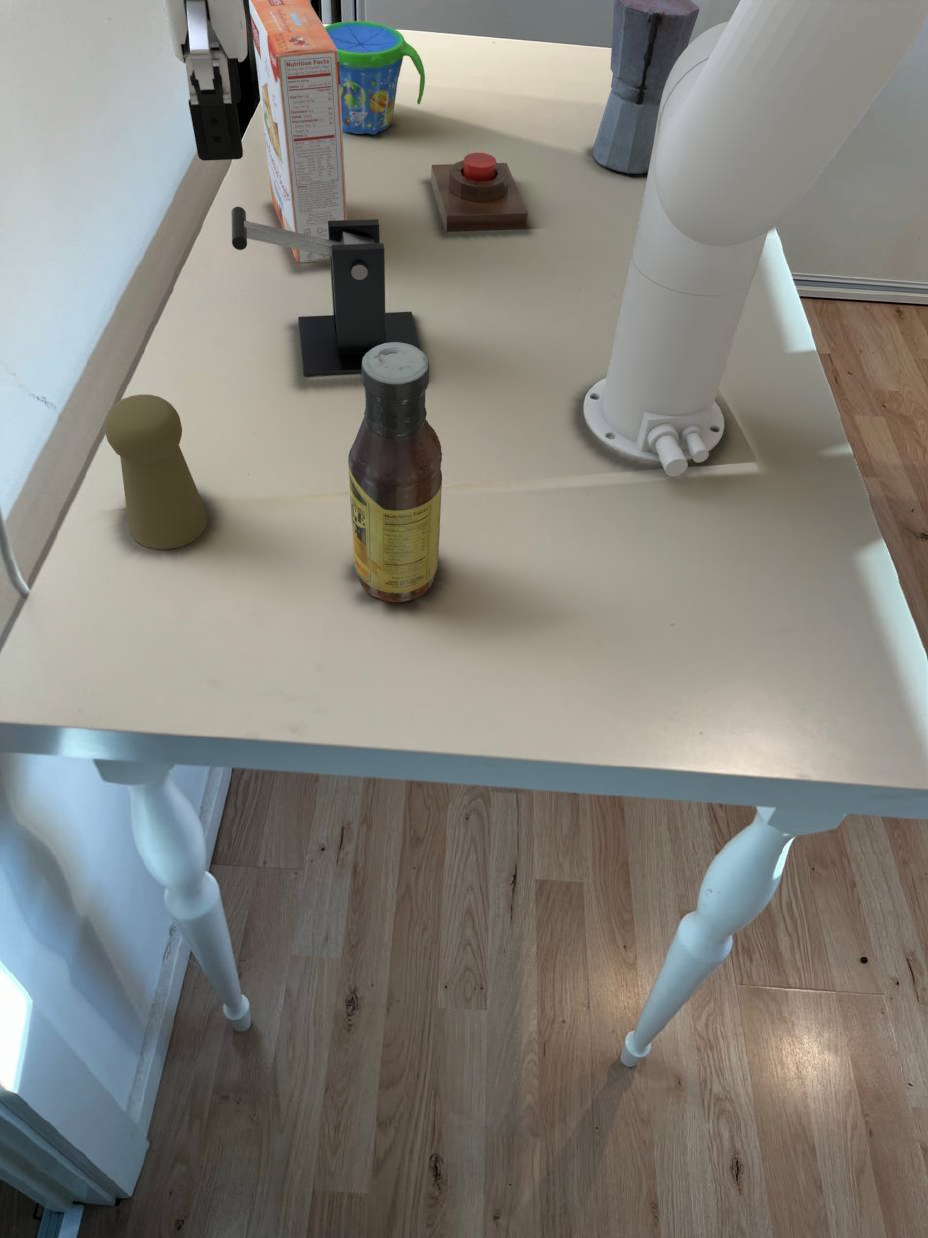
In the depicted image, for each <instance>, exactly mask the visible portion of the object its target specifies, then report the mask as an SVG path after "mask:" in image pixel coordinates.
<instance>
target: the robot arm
mask: <svg viewBox="0 0 928 1238" xmlns="http://www.w3.org/2000/svg"><path fill="white" fill-rule="evenodd" d="M162 4H163V9H164V13H165V18H166V19H165V20H166V23H167V27H168V32H169V36H170V40H171V43H172V44H171V45H172V48H173V52H174V56H175V58H176V59H178V61H180V62H181V63H183V64H185V69H186V77H187V86H188V94H189V99H188V109H189V113H190V114H189V115H190V119H191V123H192V129H193V136H194V141H195V146H196V153H197V156H198V158H199V159H200V160H201V161H205V162H206V161H208V162H209V161H227V160H228V161H229V160H231V161H232V160H241V159H242V158H243V156H244V149H243V142H242V141H243V140H242V135H241V128H240V122H239V121H240V120H239V114H238V107H237V104H239V103H241V101H242V93H241V84H240V79H239V78H240V77H239V73H238V72H239V70H238V63H243V62H244V61H245V59H246V58H247V56H248V35H247V34H248V33H247V19H246V13H245V5H244V0H162ZM927 19H928V0H739V2H738V4H737V6H736V8H735V10H734V11H733V13H732V15H731V17H730V19H729V20H728V21H725V22H724V21H723V22H721V23H719V24H716V25H714V26H712V27H710V28H708V29H707V30H705V31H703V32H702V33H701V34H699V35H698V36H696V38H695V39H694V40H692V41H691V42H689V44H688V46H687V48H686V49H685V50H684V51H683V53H682V54H681V55H680V57H679V58H678V60H677V61H676V63H675V64H674V66H673V68H672V70H671V72H670V74H669V76H668V79H667V81H666V84H665V87H664V90H663V94H662V98H661V102H660V107H659V113H658V119H657V125H656V131H655V138H654V144H653V149H652V154H651V160H650V165H649V171H648V172H647V178H646V181H645V188H644V193H643V198H642V204H641V209H640V213H639V218H638V224H637V227H636V233H635V238H634V243H633V248H632V251H631V256H630V261H629V265H628V271H627V275H626V278H625V279H626V281H625V285H624V290H623V295H622V299H621V303H620V304H621V305H620V310H619V315H618V319H617V324H616V330H615V333H614V334H615V335H614V339H613V344H612V349H611V353H610V358H609V363H608V369H607V373H606V377H603V379H600V380H599V381H598V382H596V383H594V384H593V386H591V388H590V389H589V390H588V391H587V392H586V394H585V397H584V400H583V405H582V411H583V417H584V420H585V422H586V424H587V426H588V427H589V429H590V430H591V432H592V433H593V434H594V435H595V436H596V437H597V438H598V439H599V440H600V441H601V442H603V443H604V444H606V445H607V446H609V448H611V449H613V450H616V451H618V452H619V453H621V454H624V455H626V456H629V457H632V458H635V459H639V460H643V461H649V462H656V463H658V462H659V463H661V466H662V469H663V470H664V472H665V475H666V476H668V477H675V478H676V477H678V476H681V475H682V474H684V473H685V472H687V471H686V470H687V469H688V466H689V465H688V463H689V462H688V461H690V460H692V461H693V462H694V463H698V464H699V463H703V462H704V461H706V460H707V459H708V458H709V456H710V451H712V450H713V449H714V448H716V446H717V445H718V444H719V442H720V441H721V439H722V437H723V434H724V430H725V417H724V414H723V412H722V409H721V408H720V406H719V405H718V403H717V402H716V397H717V395H718V392H719V391H718V390H719V387H720V384H721V381H722V377H723V374H724V373H725V369H726V367H727V366H726V365H727V362H728V359H729V356H730V353H731V349H732V347H733V343H734V340H735V338H736V334H737V331H738V327H739V324H740V321H741V318H742V315H743V312H744V309H745V305H746V302H747V299H748V296H749V293H750V290H751V286H752V283H753V281H754V278H755V276H756V273H757V270H758V266H759V263H760V260H761V258H762V257H761V256H762V253H763V250H764V247H765V243H766V240H767V237H768V233H769V231H771V230H773V229H774V228H775V227H776V226H778V225H780V224H781V222H783V221H784V220H785V219H786V218H787V217H788V216H789V215H790V214H791V213H792V212H793V211H794V210H796V208H797V207H798V206H799V204H800V203H801V202H802V201H803V199H804V198H805V197H806V196H807V195H808V194H809V192H810V191H811V190H812V188H813V187H814V186H815V184H816V183H817V181H818V180H819V178H820V177H821V176H822V174H823V173H824V172H825V170H826V169H827V168H828V166H829V165H830V164H831V162H832V161H833V160H834V158H835V157H836V156H837V154H838V153H839V152H840V150H841V148H842V147H843V146H844V144H845V143H846V141H847V140H848V139H849V137H850V136H851V135H852V133H853V131H854V130H855V129H856V127H858V124H859V123H860V122H861V120H862V119H863V118H864V116H865V115H866V114H867V112H868V111H869V109H870V108H871V107H872V105H873V104H874V102H875V101H876V99H877V98H878V97H879V95H880V94H881V93H882V91H883V89H884V88H885V87H886V85H887V84H888V83H889V81H890V80H891V78H892V77H893V75H894V74H895V72H896V71H897V70H898V69H899V67H900V65H901V64H902V63H903V61H904V59H905V58H906V57H907V55H908V53H909V52H910V50H911V49H912V47H913V45H914V44H915V42H916V40H917V38H918V36H919V34H920V33H921V32H922V29H923V27H924V26H925V23H926V21H927ZM237 61H238V63H237ZM592 397H595V398H597V399H594V398H592ZM712 429H713V430H717V431H713V430H712ZM608 436H609V437H610V436H611V437H613V438H608Z"/></svg>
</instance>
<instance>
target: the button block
mask: <svg viewBox="0 0 928 1238" xmlns="http://www.w3.org/2000/svg"><path fill="white" fill-rule="evenodd" d="M463 167H464V159H463V160H460V161H457V162H455V163H448V164H447V163H446V164H431V170H430V171H431V175H430V176H431V177H430V183H431V187H432V190H433V194H434V197H435V201H436V205H437V208H438V210H439V215H440V217H441V221H442V225H443V228H444V231H445V233H458V232H485V231H488V232H489V231H515V230H516V231H519V230H527V224H528V215H529V214H528V211H527V209H526V206H525V204H524V201H523V199H522V197H521V194H520V192H519V189H518V186H517V184H516V182H515V180H514V177H513V175H512V173H511V170H510V167H509V165H508V163H507V162H498V161H496V171H495V178H494V179H492V180H490V181H474V180H469V179H467V178H465V177H464V176H463Z"/></svg>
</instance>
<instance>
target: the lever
mask: <svg viewBox="0 0 928 1238" xmlns="http://www.w3.org/2000/svg"><path fill="white" fill-rule="evenodd" d="M230 213H231V214H230V215H231V217H230V218H231V245H232V247H233V248H234V249H235V250H238V251H243V250H245V249H246V248H247V246H248V240H253V241H257V242H262V243H267V244H271V245H275V246H279V247H284V248H289V249H291V248H293V249H298V250H302V251H307V252H311V253H316V254H320V255H325V256H329V257H332V252H331V245H346V244H374V243H375V242H374V239H372V238H368V237H364V236H359V235H355V234H351V233H346V232H343V233H342V237H341V241H340V242H337V241H332V240H328V239H324V238H319V237H315V236H310V235H306V234H302V233H297V232H293V231H288V230H284V229H283V228H280V227H275V226H270V225H266V224H261V223H257V222H252V221H248V220H247V212H246V210H245V209H244V208H243V207H242V206H235V207H233V208H232V210H231V212H230Z"/></svg>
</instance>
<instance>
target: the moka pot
mask: <svg viewBox="0 0 928 1238" xmlns="http://www.w3.org/2000/svg"><path fill="white" fill-rule="evenodd" d="M699 14H700V7H699V6H698V5H697V4H695V2H693V0H613V19H612V31H611V32H612V33H611V34H612V35H611V53H610V70H611V72H612V76H611V83H610V89H611V90H610V92H609V93H608V94H609V95H608V98H607V101H606V105H605V108H604V111H603V115H602V117H601V121H600V125H599V128H598V132H597V135H596V138H595V142H594V145H593V149H592V158H593V159H594V160H595V161H596V163H598V164H600V165H601V167H605V168H606V169H610V170H612V171H617V172H619V173H623V174H624V173H625V174H629V175H630V174H636V175H637V174H645V173H648V171H649V165H650V160H651V154H652V149H653V144H654V138H655V131H656V125H657V119H658V113H659V107H660V102H661V98H662V94H663V90H664V87H665V84H666V81H667V79H668V76H669V74H670V72H671V70H672V68H673V66H674V64H675V63H676V61H677V60H678V58H679V57H680V55H681V54H682V53H683V51H684V50H685V49H686V48H687V47H688V46H689V44H690V41H691V37H692V34H693V31H694V28H695V26H696V22H697V19H698V16H699Z"/></svg>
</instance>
